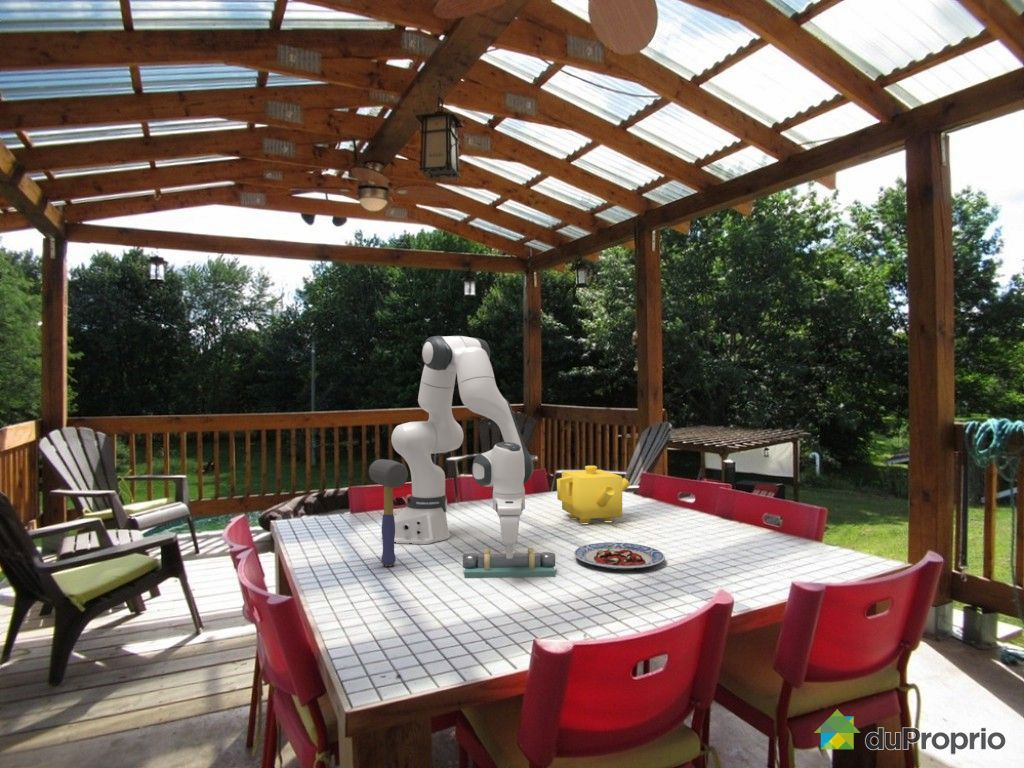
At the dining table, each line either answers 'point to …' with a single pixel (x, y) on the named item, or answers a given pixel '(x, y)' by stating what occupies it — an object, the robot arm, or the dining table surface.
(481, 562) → the grey dumbbell
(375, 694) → the dining table surface
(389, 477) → the rubber mallet
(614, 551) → the ceramic plate
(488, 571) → the peg rack
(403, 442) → the robot arm
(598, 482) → the yellow teapot
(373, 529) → the dining table surface
